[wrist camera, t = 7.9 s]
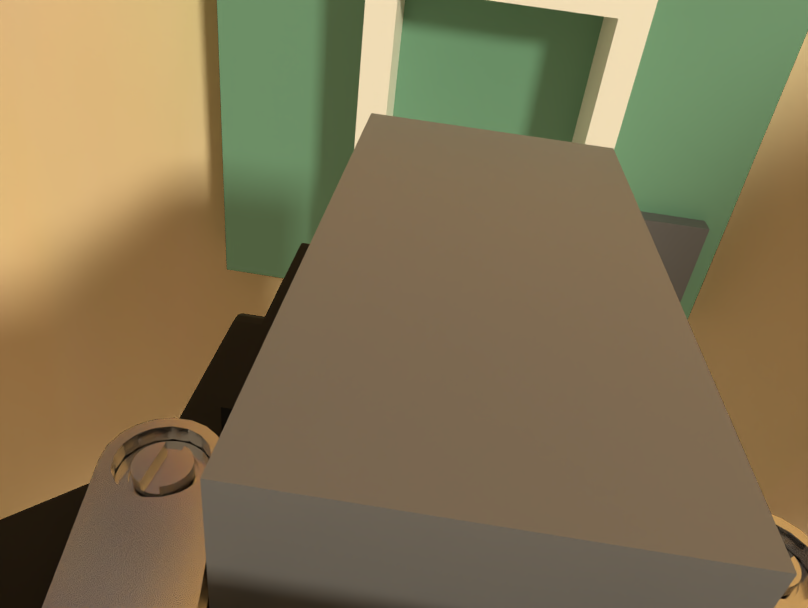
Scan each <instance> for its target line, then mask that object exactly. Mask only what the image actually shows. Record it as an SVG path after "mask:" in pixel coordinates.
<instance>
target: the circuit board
mask: <svg viewBox="0 0 808 608" xmlns="http://www.w3.org/2000/svg"><path fill="white" fill-rule="evenodd" d="M217 15H218V43H219V70H220V97H221V124H222V152H223V179H224V206H225V233H226V261H227V269H228V270H234V271H241V272H247V273H254V274H260V275H266V276H273V277H279V278H284V277H285V275H286V273H287V271H288V269H289V267H290V265H291V263H292V261H293V259H294V257H295V255H296V253H297V251H298V249H299V247H300V245H301V243H307V244H310V243H311V240H312V238H313V236H314V234H315V232H316V230H317V228H318V226H319V223H320V221H321V219H322V217H323V215H324V213H325V211H326V208H327V206H328V204H329V202H330V200H331V198H332V196H333V194H334V191H335V189H336V187H337V185H338V183H339V181H340V179H341V176H342V174H343V172H344V170H345V168H346V166H347V164H348V161H349V159H350V157H351V155H352V153H353V151H354V149H355V147H356V144H357V142H358V140H359V138H360V136H361V134H362V132H363V129H364V127H365V125H366V123H367V121H368V119H369V117H370V115H371V113H374V114H381V115H388V116H395V117H402V118H409V119H416V120H422V121H429V122H436V123H443V124H450V125H457V126H464V127H471V128H477V129H484V130H491V131H498V132H505V133H512V134H519V135H525V136H532V137H539V138H546V139H553V140H560V141H567V142H573V143H580V144H587V145H594V146H601V147H608V148H613V149H614V151H615V153H616V156H617V158H618V160H619V163H620V165H621V167H622V170H623V172H624V174H625V177H626V179H627V181H628V184H629V186H630V188H631V190H632V193H633V195H634V197H635V200H636V202H637V204H638V207H639V209H640V211H641V214H642V216H643V218H644V221H645V223H646V225H647V227H648V230H649V232H650V234H651V237H652V239H653V241H654V244H655V246H656V248H657V251H658V253H659V255H660V258H661V260H662V262H663V265H664V267H665V269H666V271H667V274H668V276H669V278H670V281H671V283H672V285H673V288H674V290H675V292H676V295H677V297H678V299H679V302H680V304H681V306H682V308H683V311H684V313H685V315H686V318H687V320H688V317H689V315H690V313H691V310H692V308H693V305H694V303H695V301H696V298H697V296H698V293H699V291H700V289H701V286H702V284H703V281H704V279H705V277H706V274H707V272H708V269H709V267H710V265H711V262H712V260H713V257H714V255H715V253H716V250H717V248H718V245H719V243H720V240H721V238H722V236H723V233H724V231H725V228H726V226H727V224H728V221H729V219H730V216H731V214H732V212H733V209H734V207H735V204H736V202H737V200H738V197H739V195H740V192H741V190H742V188H743V185H744V183H745V180H746V178H747V176H748V173H749V171H750V168H751V166H752V164H753V161H754V159H755V156H756V154H757V152H758V149H759V147H760V144H761V142H762V140H763V137H764V135H765V132H766V130H767V128H768V125H769V123H770V120H771V118H772V116H773V113H774V111H775V108H776V106H777V104H778V101H779V99H780V96H781V94H782V92H783V89H784V87H785V84H786V82H787V80H788V77H789V75H790V72H791V70H792V68H793V65H794V63H795V60H796V58H797V56H798V53H799V51H800V48H801V46H802V44H803V41H804V39H805V36H806V34H807V32H808V0H217Z"/></svg>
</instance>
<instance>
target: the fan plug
mask: <svg viewBox="0 0 808 608" xmlns="http://www.w3.org/2000/svg"><path fill="white" fill-rule="evenodd" d="M200 484H201V498H202V512H203V525H204V539H205V552H206V566H207V580H208V593H209V607H210V608H774V607H775V606H776V604H777V603H778V601H779V600H780V598H781V597H782V596H783V594H784V593H785V591H786V590H787V588H788V587H789V585H790V584H791V583H792V581H793V580H794V578H795V577H796V575H797V572H796V570H795V568H794V565H793V563H792V561H791V558H790V556H789V554H788V551H787V549H786V547H785V544H784V542H783V540H782V538H781V535H780V533H779V531H778V528H777V526H776V524H775V521H774V519H773V517H772V514H771V512H770V510H769V507H768V505H767V503H766V501H765V498H764V496H763V494H762V491H761V489H760V487H759V484H758V482H757V480H756V477H755V475H754V473H753V470H752V468H751V466H750V464H749V461H748V459H747V457H746V454H745V452H744V450H743V447H742V445H741V443H740V440H739V438H738V436H737V433H736V431H735V429H734V426H733V424H732V422H731V420H730V417H729V415H728V413H727V410H726V408H725V406H724V403H723V401H722V399H721V396H720V394H719V392H718V389H717V387H716V385H715V383H714V380H713V378H712V376H711V373H710V371H709V369H708V366H707V364H706V362H705V359H704V357H703V355H702V352H701V350H700V348H699V345H698V343H697V341H696V339H695V336H694V334H693V332H692V329H691V327H690V325H689V322H688V320H687V318H686V315H685V313H684V311H683V308H682V306H681V304H680V302H679V299H678V297H677V295H676V292H675V290H674V288H673V285H672V283H671V281H670V278H669V276H668V274H667V271H666V269H665V267H664V265H663V262H662V260H661V258H660V255H659V253H658V251H657V248H656V246H655V244H654V241H653V239H652V237H651V234H650V232H649V230H648V227H647V225H646V223H645V221H644V218H643V216H642V214H641V211H640V209H639V207H638V204H637V202H636V200H635V197H634V195H633V193H632V190H631V188H630V186H629V184H628V181H627V179H626V177H625V174H624V172H623V170H622V167H621V165H620V163H619V160H618V158H617V156H616V153H615V151H614V149H613V148H608V147H601V146H594V145H587V144H580V143H573V142H567V141H560V140H553V139H546V138H539V137H532V136H525V135H519V134H512V133H505V132H498V131H491V130H484V129H477V128H471V127H464V126H457V125H450V124H443V123H436V122H429V121H422V120H416V119H409V118H402V117H395V116H388V115H381V114H374V113H371V115H370V117H369V119H368V121H367V123H366V125H365V127H364V129H363V132H362V134H361V136H360V138H359V140H358V142H357V144H356V147H355V149H354V151H353V153H352V155H351V157H350V159H349V161H348V164H347V166H346V168H345V170H344V172H343V174H342V176H341V179H340V181H339V183H338V185H337V187H336V189H335V191H334V194H333V196H332V198H331V200H330V202H329V204H328V206H327V208H326V211H325V213H324V215H323V217H322V219H321V221H320V223H319V226H318V228H317V230H316V232H315V234H314V236H313V238H312V240H311V243H310V245H309V247H308V249H307V251H306V253H305V255H304V258H303V260H302V262H301V264H300V266H299V268H298V270H297V273H296V275H295V277H294V279H293V281H292V283H291V285H290V287H289V290H288V292H287V294H286V296H285V298H284V300H283V302H282V305H281V307H280V309H279V311H278V313H277V315H276V317H275V319H274V322H273V324H272V326H271V328H270V330H269V332H268V334H267V337H266V339H265V341H264V343H263V345H262V347H261V349H260V352H259V354H258V356H257V358H256V360H255V362H254V364H253V366H252V369H251V371H250V373H249V375H248V377H247V379H246V381H245V384H244V386H243V388H242V390H241V392H240V394H239V396H238V398H237V401H236V403H235V405H234V407H233V409H232V411H231V413H230V416H229V418H228V420H227V422H226V424H225V426H224V428H223V431H222V433H221V435H220V437H219V439H218V441H217V443H216V445H215V448H214V450H213V452H212V454H211V456H210V458H209V460H208V463H207V465H206V467H205V469H204V471H203V473H202V475H201V478H200Z"/></svg>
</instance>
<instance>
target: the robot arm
mask: <svg viewBox="0 0 808 608" xmlns="http://www.w3.org/2000/svg"><path fill="white" fill-rule="evenodd" d="M309 245H310V244H307V243H301V245H300V247H299V249H298V251H297V253H296V255H295V257H294V259H293V261H292V263H291V265H290V267H289V269H288V271H287V273H286V275H285V277H284V279H283V281H282V283H281V285H280V287H279V289H278V291H277V293H276V295H275V298H274V300H273V302H272V304H271V306H270V308H269V310H268V312H267V314H266V316H265V317H262V316H256V315H249V314H242V313H241V314H239V315H238V316H237V317H236V318H235V320H234V321H233V323H232V325H231V327H230V328H229V330H228V332H227V334H226V336H225V337H224V339H223V341H222V343H221V345H220V346H219V348H218V350H217V352H216V354H215V355H214V357H213V359H212V361H211V363H210V364H209V366H208V368H207V370H206V372H205V373H204V375H203V377H202V379H201V381H200V382H199V384H198V386H197V388H196V390H195V391H194V393H193V395H192V397H191V399H190V401H189V402H188V404H187V406H186V408H185V410H184V411H183V413H182V415H181V417H180V419H178V418H167V419H155V420H152V421H148V422H145V423H141V424H138V425H136V426H134V427H132V428H130V429H128V430H126V431H124V432H122V433H120V434H119V435H118V436H117V437H116V438H115V439H114V440H113V441H111V442H110V443H109V444H108V445H107V447H106V448H105V450H104V451H103V453H102V455H101V456H100V458H99V460H98V463H97V465H96V468H95V471H94V473H93V476H92V478H91V481H90V483H89V484H87V485H84V486H82V487H79V488H77V489H74V490H72V491H70V492H67V493H65V494H62V495H60V496H57V497H55V498H52V499H50V500H48V501H45V502H43V503H40V504H38V505H35V506H33V507H31V508H28V509H26V510H23V511H21V512H18V513H16V514H14V515H11V516H9V517H6V518H4V519H1V520H0V608H210V607H209V593H208V580H207V566H206V552H205V539H204V525H203V512H202V498H201V484H200V478H201V475H202V473H203V471H204V469H205V467H206V465H207V463H208V460H209V458H210V456H211V454H212V452H213V450H214V448H215V445H216V443H217V441H218V439H219V437H220V435H221V433H222V431H223V428H224V426H225V424H226V422H227V420H228V418H229V416H230V413H231V411H232V409H233V407H234V405H235V403H236V401H237V398H238V396H239V394H240V392H241V390H242V388H243V386H244V384H245V381H246V379H247V377H248V375H249V373H250V371H251V369H252V366H253V364H254V362H255V360H256V358H257V356H258V354H259V352H260V349H261V347H262V345H263V343H264V341H265V339H266V337H267V334H268V332H269V330H270V328H271V326H272V324H273V322H274V319H275V317H276V315H277V313H278V311H279V309H280V307H281V305H282V302H283V300H284V298H285V296H286V294H287V292H288V290H289V287H290V285H291V283H292V281H293V279H294V277H295V275H296V273H297V270H298V268H299V266H300V264H301V262H302V260H303V258H304V255H305V253H306V251H307V249H308V247H309ZM772 517H773V519H774V521H775V524H776V526H777V528H778V531H779V533H780V535H781V538H782V540H783V542H784V544H785V547H786V549H787V551H788V554H789V556H790V558H791V561H792V563H793V565H794V568H795V570H796V572H797V575H796V577H795V578H794V580H793V581H792V583H791V584H790V585H789V587H788V588H787V590H786V591H785V593H784V594H783V596H782V597H781V598H780V600H779V601H778V603H777V604H776V606H775V607H774V608H808V536H807V535H806V534H805V533H803V532H802V531H801V530H800V529H799V528H797V527H795V526H794V525H792V524H790V523H789V522H787V521H785V520H784V519H782V518H780V517H777V516H775V515H772Z"/></svg>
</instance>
